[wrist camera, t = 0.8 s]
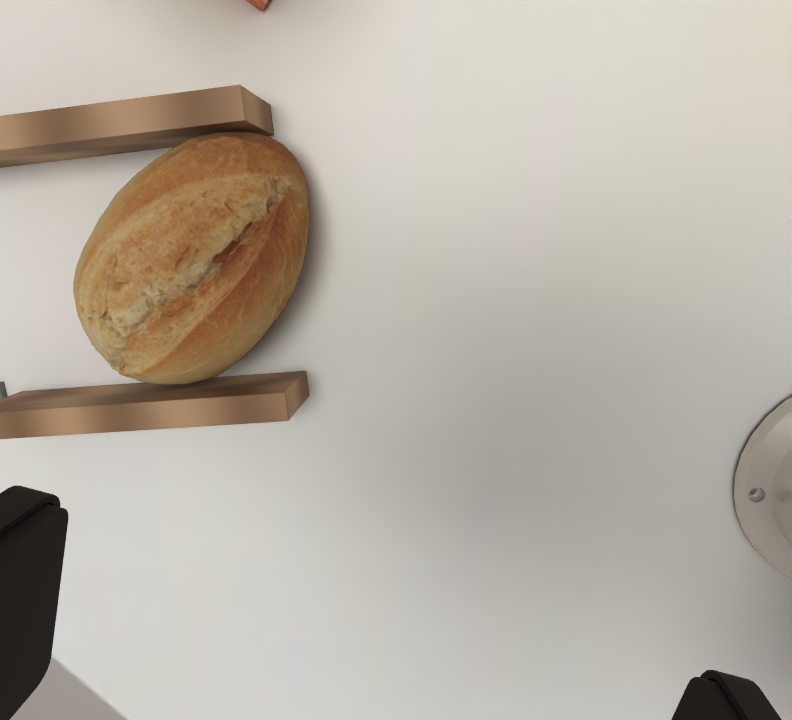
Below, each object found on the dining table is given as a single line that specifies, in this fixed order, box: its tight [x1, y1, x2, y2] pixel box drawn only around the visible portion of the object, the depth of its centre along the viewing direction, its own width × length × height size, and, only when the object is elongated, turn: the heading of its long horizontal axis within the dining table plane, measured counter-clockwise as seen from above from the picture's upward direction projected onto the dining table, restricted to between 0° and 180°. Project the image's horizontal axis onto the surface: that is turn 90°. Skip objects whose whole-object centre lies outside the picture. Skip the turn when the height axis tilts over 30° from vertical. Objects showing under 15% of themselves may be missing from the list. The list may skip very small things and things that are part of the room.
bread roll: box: [73, 132, 309, 385], centre depth 29 cm, size 10×15×8 cm, turn 140°
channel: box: [0, 85, 309, 439], centre depth 31 cm, size 18×16×4 cm
